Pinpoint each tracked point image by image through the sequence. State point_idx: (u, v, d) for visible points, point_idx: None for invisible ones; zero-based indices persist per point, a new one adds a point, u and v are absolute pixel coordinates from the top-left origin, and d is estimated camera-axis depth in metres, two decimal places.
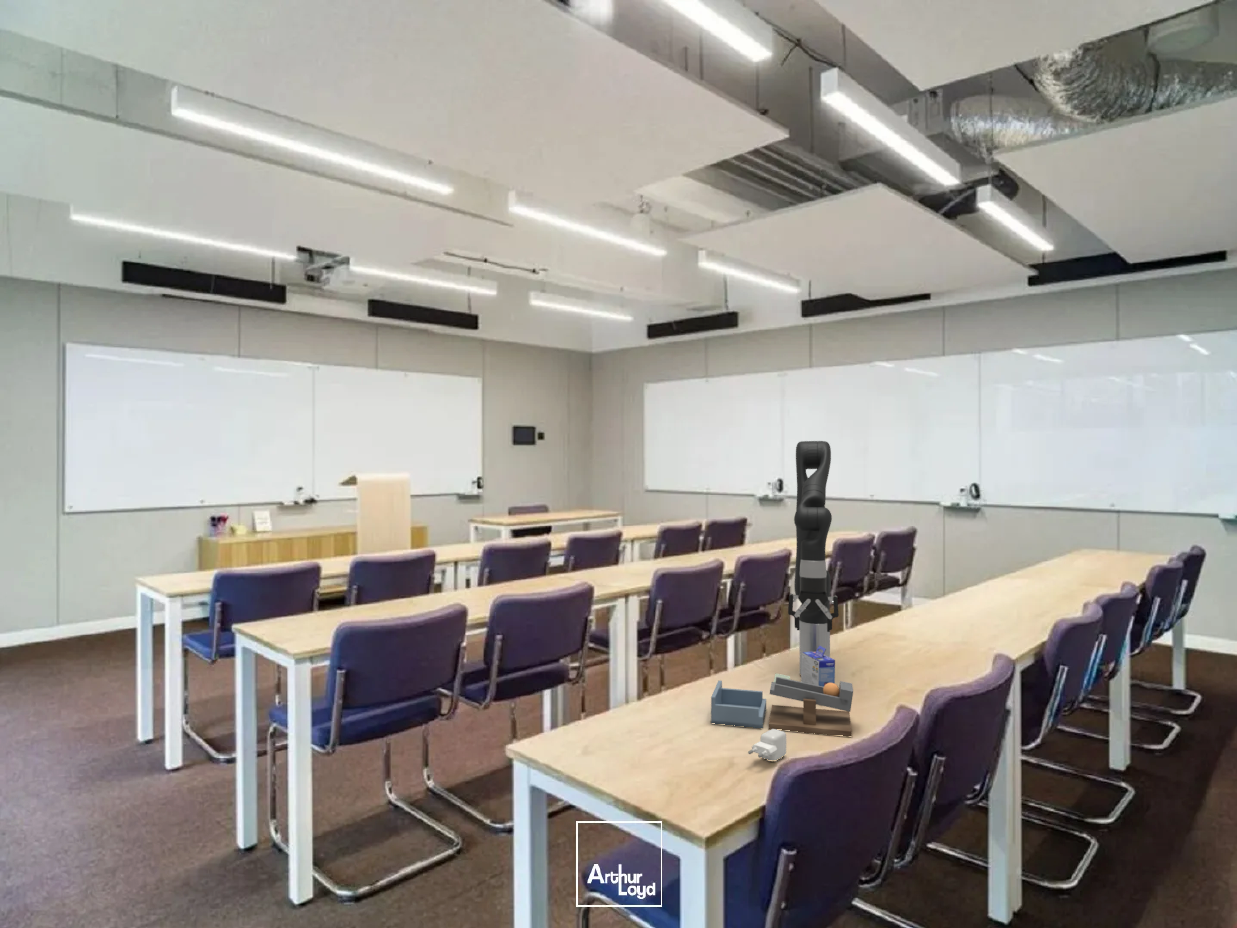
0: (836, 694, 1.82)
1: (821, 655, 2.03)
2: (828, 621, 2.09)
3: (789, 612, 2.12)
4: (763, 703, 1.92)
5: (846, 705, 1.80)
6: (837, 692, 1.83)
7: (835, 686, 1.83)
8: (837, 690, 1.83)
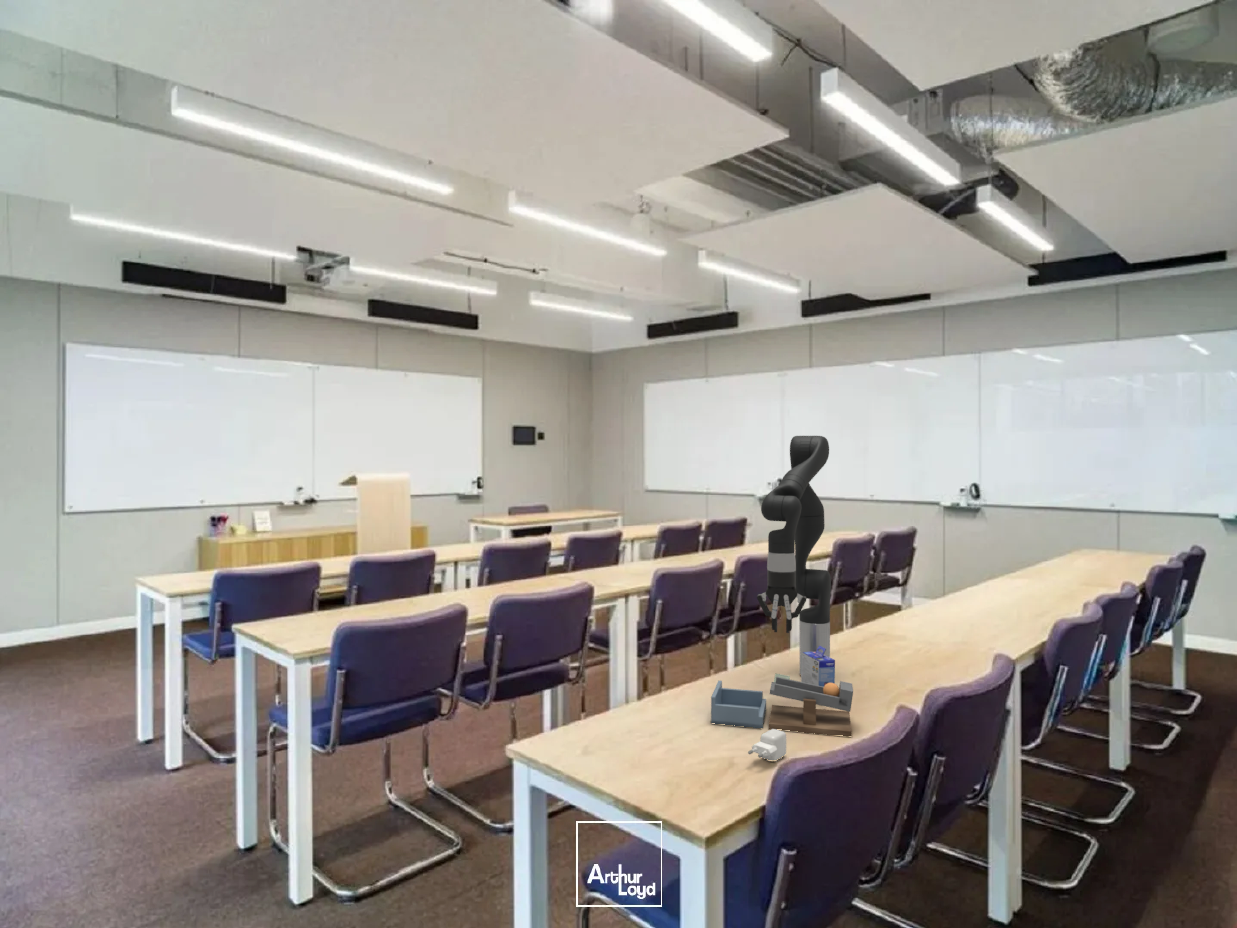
0: (836, 694, 1.82)
1: (821, 655, 2.03)
2: (787, 621, 1.95)
3: (766, 613, 1.96)
4: (763, 703, 1.92)
5: (846, 705, 1.80)
6: (837, 692, 1.83)
7: (835, 686, 1.83)
8: (837, 690, 1.83)
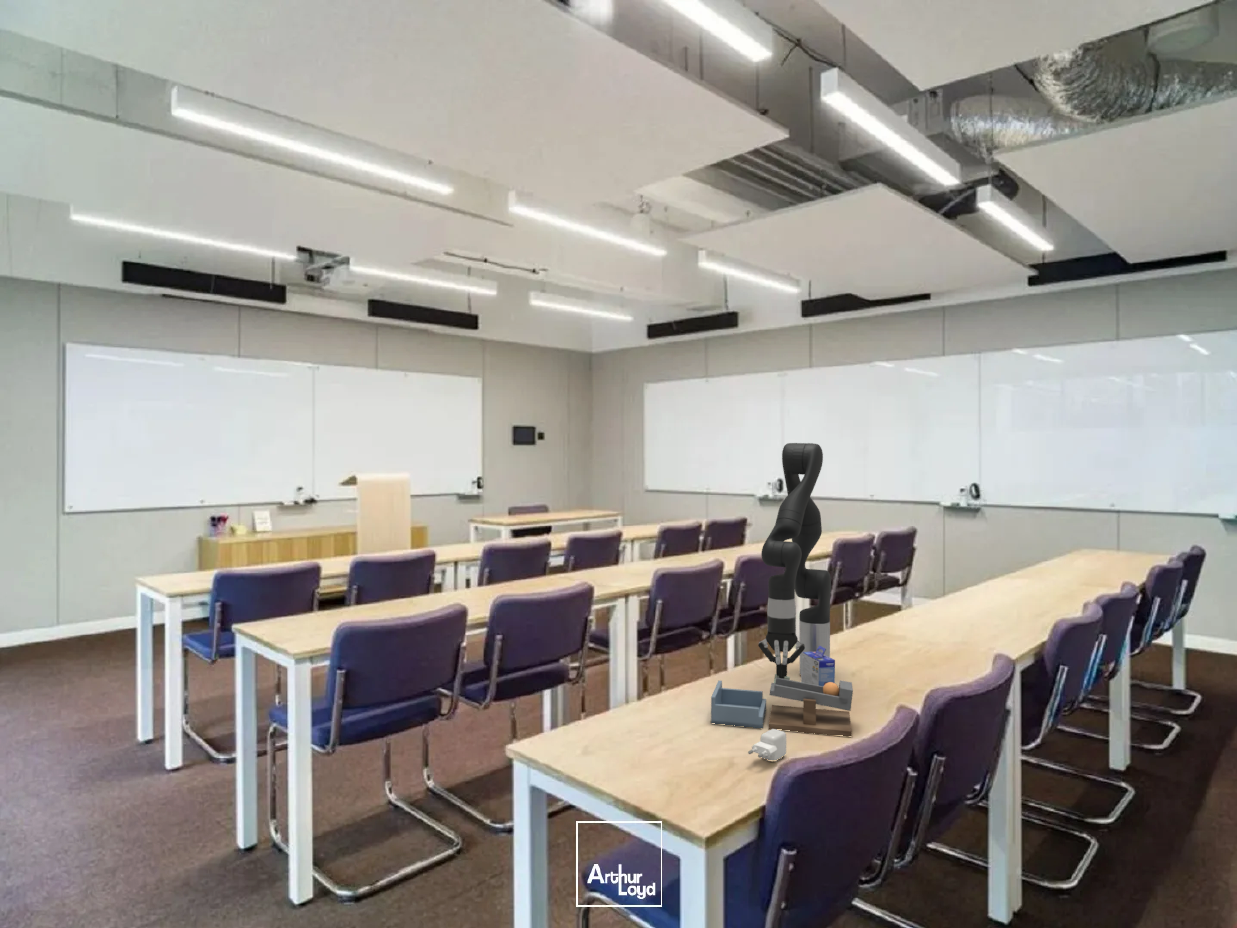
0: (836, 693, 1.82)
1: (821, 655, 2.03)
2: (782, 667, 1.95)
3: (770, 659, 1.96)
4: (763, 703, 1.92)
5: (846, 704, 1.80)
6: (837, 691, 1.83)
7: (835, 685, 1.83)
8: (837, 689, 1.83)
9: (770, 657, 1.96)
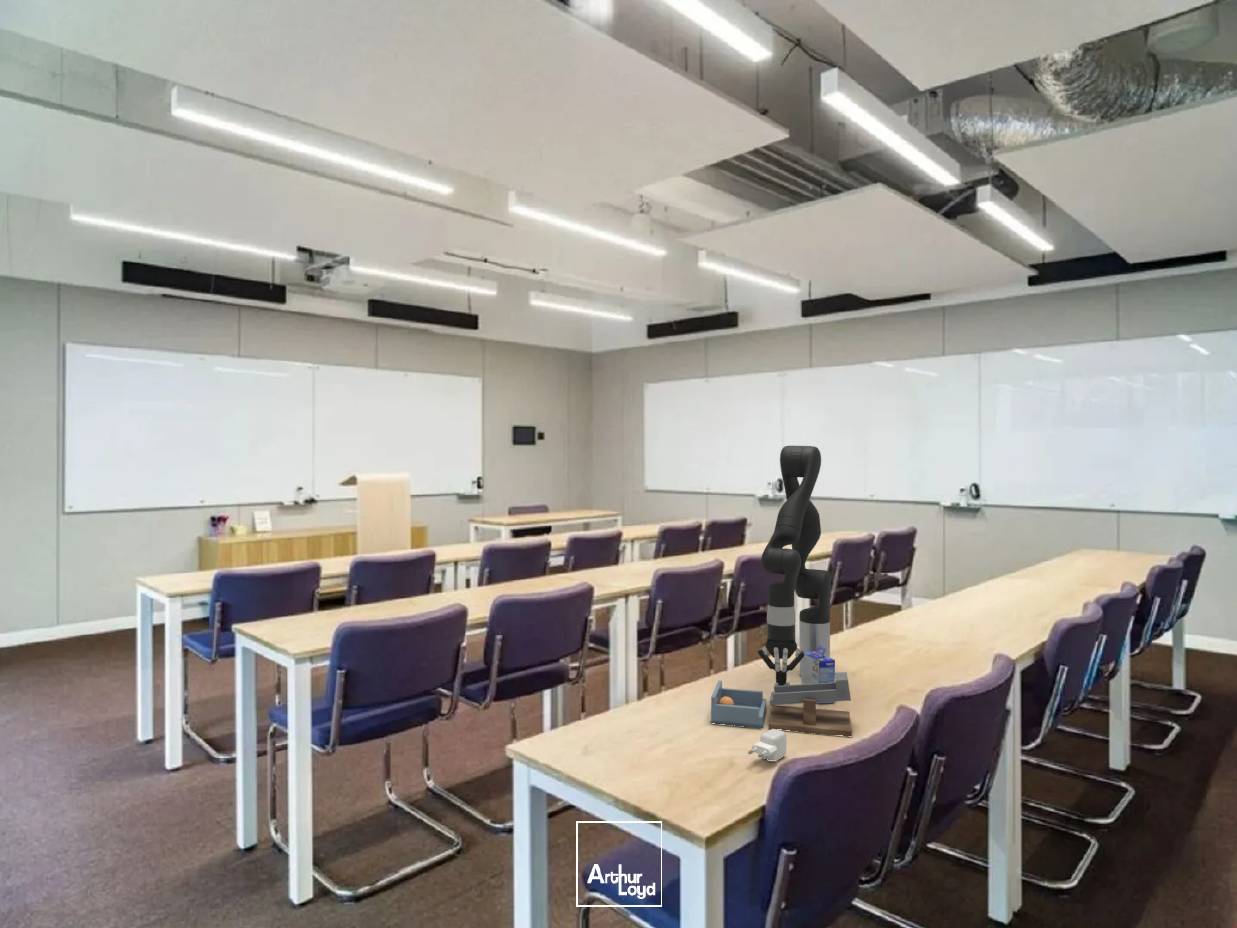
0: (729, 702, 1.90)
1: (821, 655, 2.03)
2: (782, 674, 1.95)
3: (770, 667, 1.96)
4: (763, 703, 1.92)
5: (845, 695, 1.80)
6: (727, 700, 1.90)
7: (722, 699, 1.91)
8: (725, 699, 1.90)
9: (770, 664, 1.96)
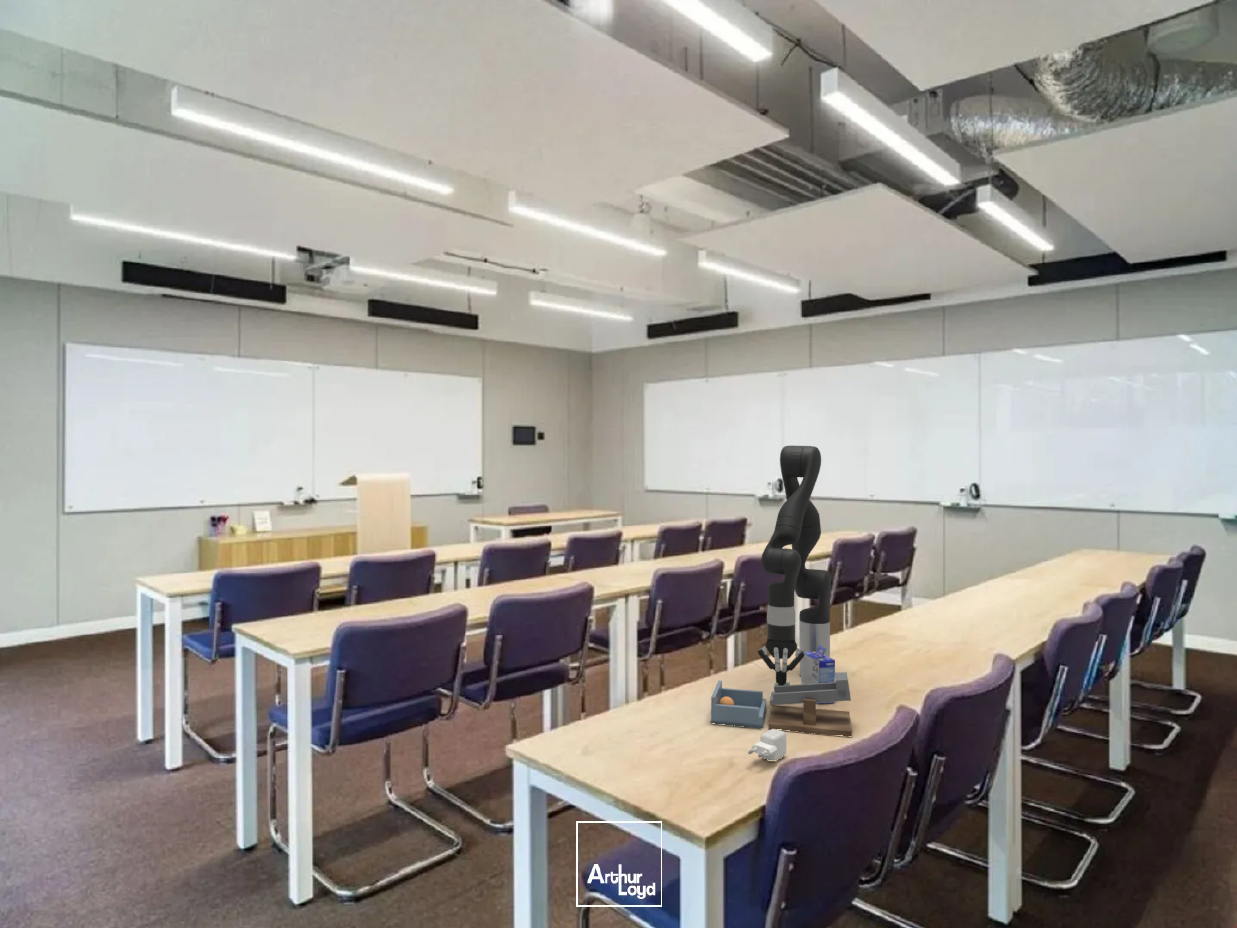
0: (729, 702, 1.90)
1: (821, 655, 2.03)
2: (782, 674, 1.95)
3: (770, 667, 1.96)
4: (763, 703, 1.92)
5: (845, 695, 1.80)
6: (728, 700, 1.90)
7: (723, 699, 1.91)
8: (726, 699, 1.90)
9: (770, 664, 1.96)
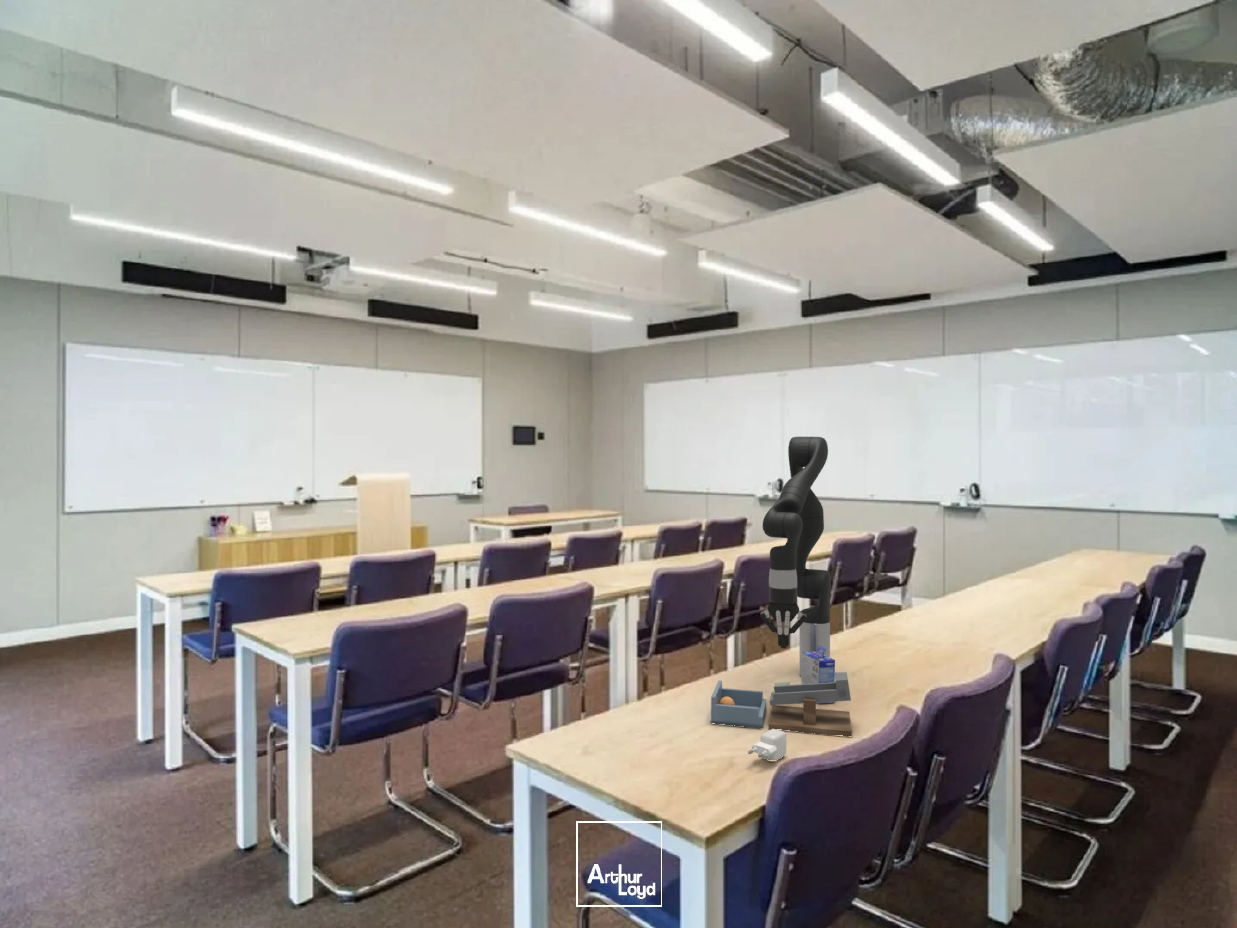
0: (729, 703, 1.90)
1: (821, 655, 2.03)
2: (784, 637, 1.96)
3: (772, 630, 1.97)
4: (763, 703, 1.92)
5: (845, 695, 1.80)
6: (728, 701, 1.90)
7: (723, 699, 1.91)
8: (726, 699, 1.90)
9: (772, 627, 1.97)
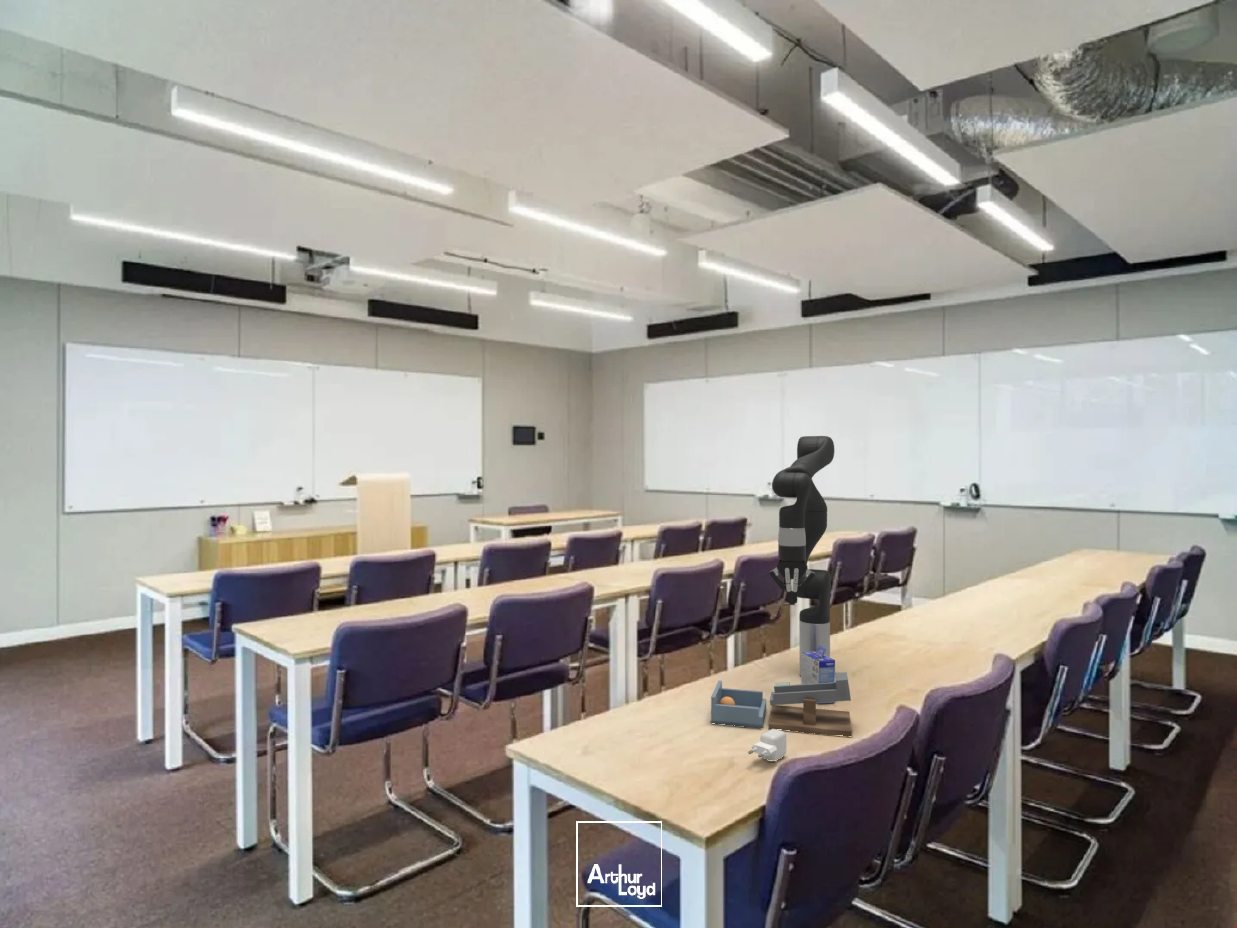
0: (730, 703, 1.90)
1: (821, 655, 2.03)
2: (793, 594, 2.02)
3: (781, 587, 2.02)
4: (763, 703, 1.92)
5: (845, 695, 1.80)
6: (729, 701, 1.90)
7: (724, 699, 1.91)
8: (727, 699, 1.90)
9: (781, 585, 2.03)
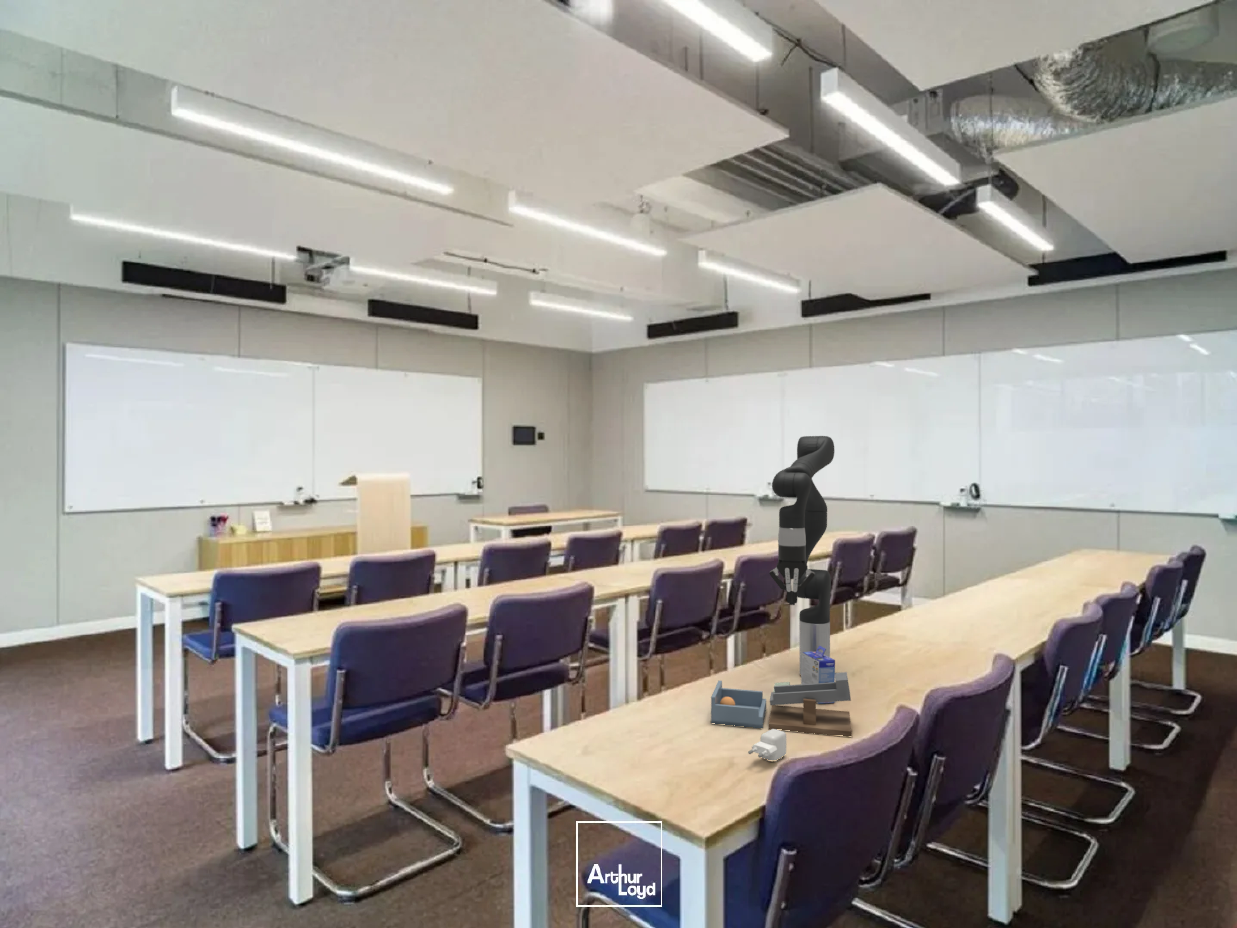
0: (730, 703, 1.90)
1: (821, 655, 2.03)
2: (793, 594, 2.02)
3: (781, 587, 2.02)
4: (763, 703, 1.92)
5: (845, 695, 1.80)
6: (729, 701, 1.90)
7: (724, 699, 1.91)
8: (728, 700, 1.90)
9: (781, 585, 2.03)
